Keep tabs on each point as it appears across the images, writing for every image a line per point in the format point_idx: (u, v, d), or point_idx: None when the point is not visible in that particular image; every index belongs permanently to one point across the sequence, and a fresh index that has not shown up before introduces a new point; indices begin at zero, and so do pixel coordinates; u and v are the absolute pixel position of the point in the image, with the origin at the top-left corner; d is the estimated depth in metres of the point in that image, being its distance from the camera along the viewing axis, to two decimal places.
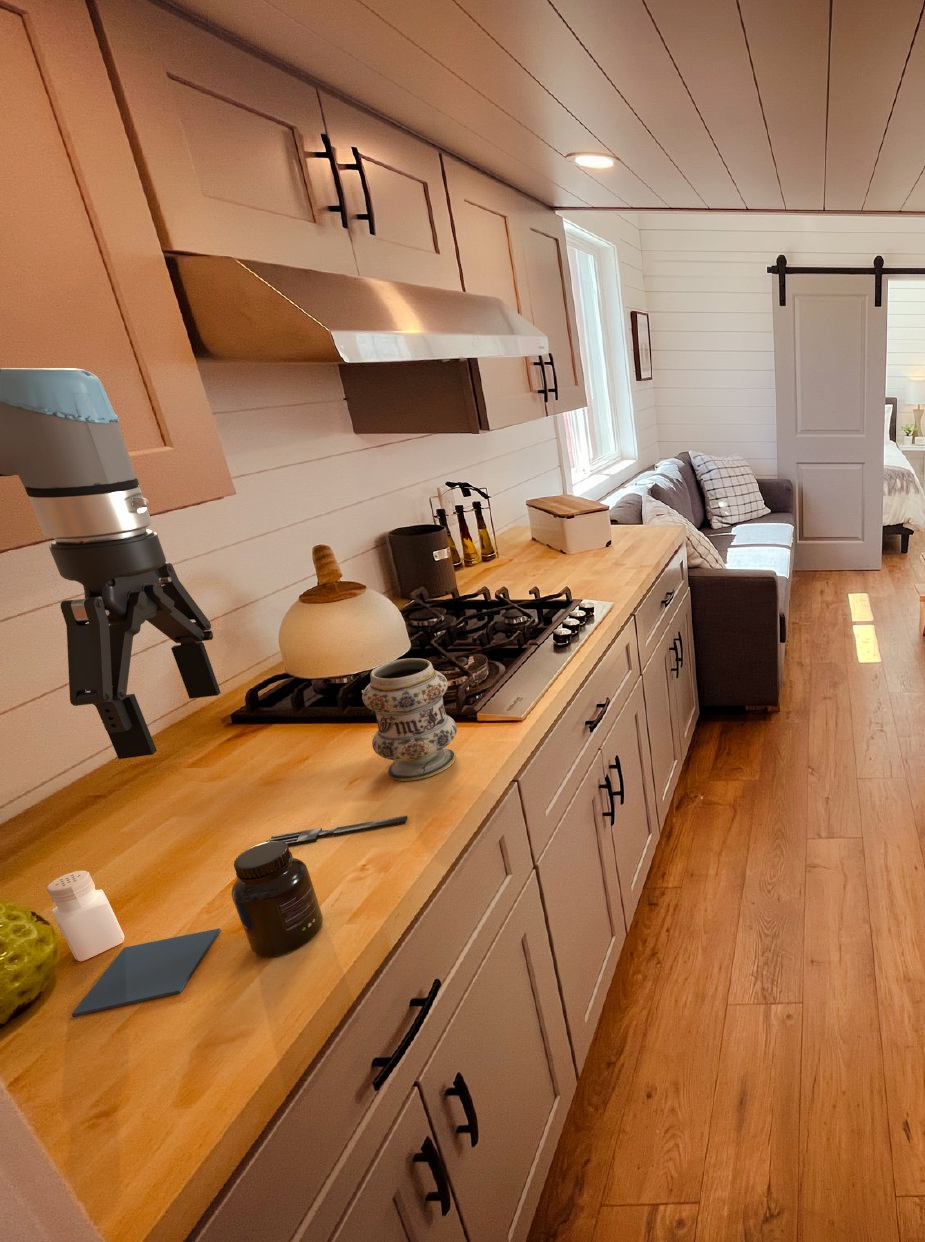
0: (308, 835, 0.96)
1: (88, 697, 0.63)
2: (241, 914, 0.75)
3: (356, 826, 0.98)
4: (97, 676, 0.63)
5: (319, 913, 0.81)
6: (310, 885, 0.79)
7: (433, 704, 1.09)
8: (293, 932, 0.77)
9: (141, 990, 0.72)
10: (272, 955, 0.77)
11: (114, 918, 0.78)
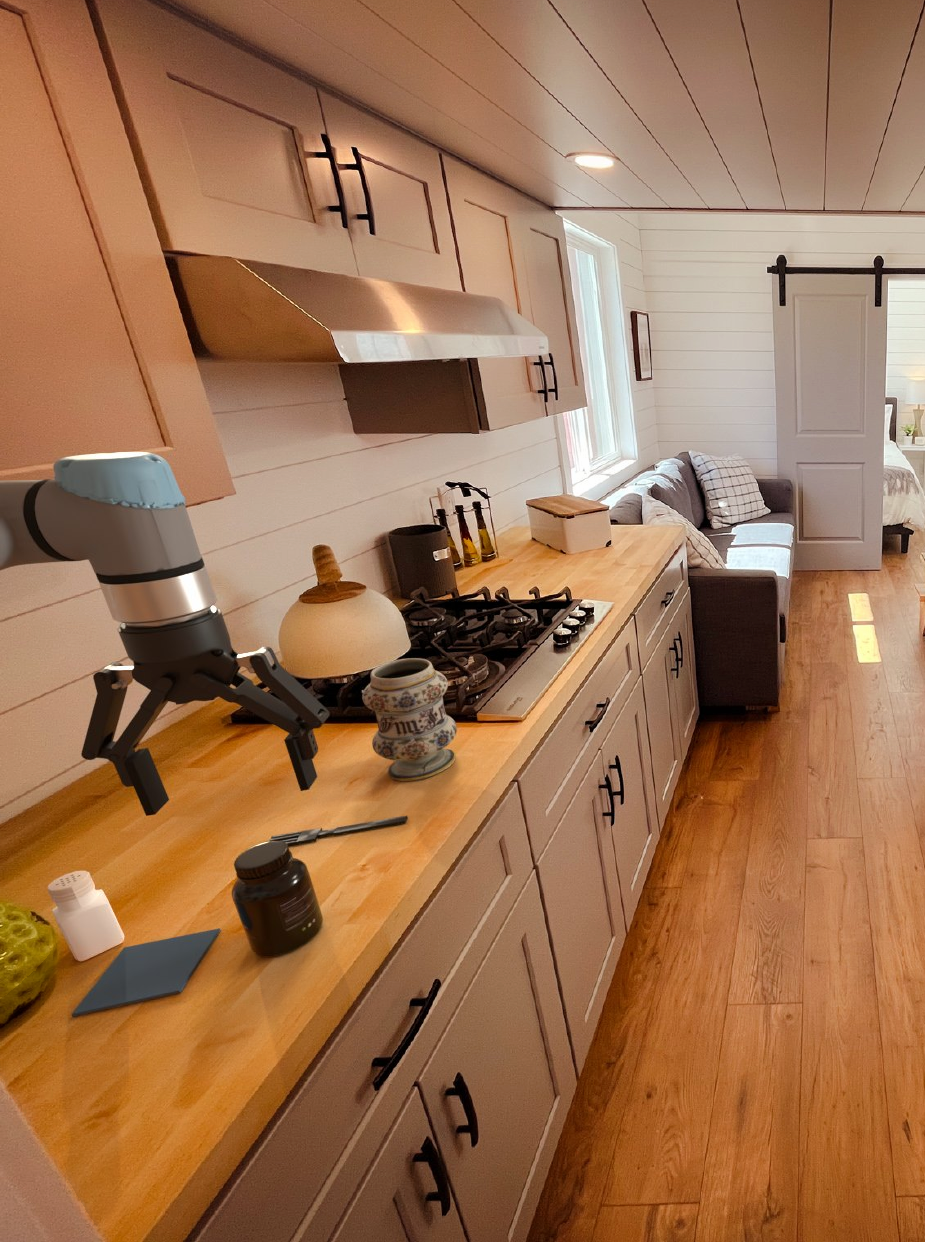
0: (308, 835, 0.96)
1: (322, 716, 0.74)
2: (241, 914, 0.75)
3: (356, 826, 0.98)
4: (314, 699, 0.74)
5: (319, 913, 0.81)
6: (310, 885, 0.79)
7: (433, 704, 1.09)
8: (293, 932, 0.77)
9: (141, 990, 0.72)
10: (272, 955, 0.77)
11: (114, 918, 0.78)
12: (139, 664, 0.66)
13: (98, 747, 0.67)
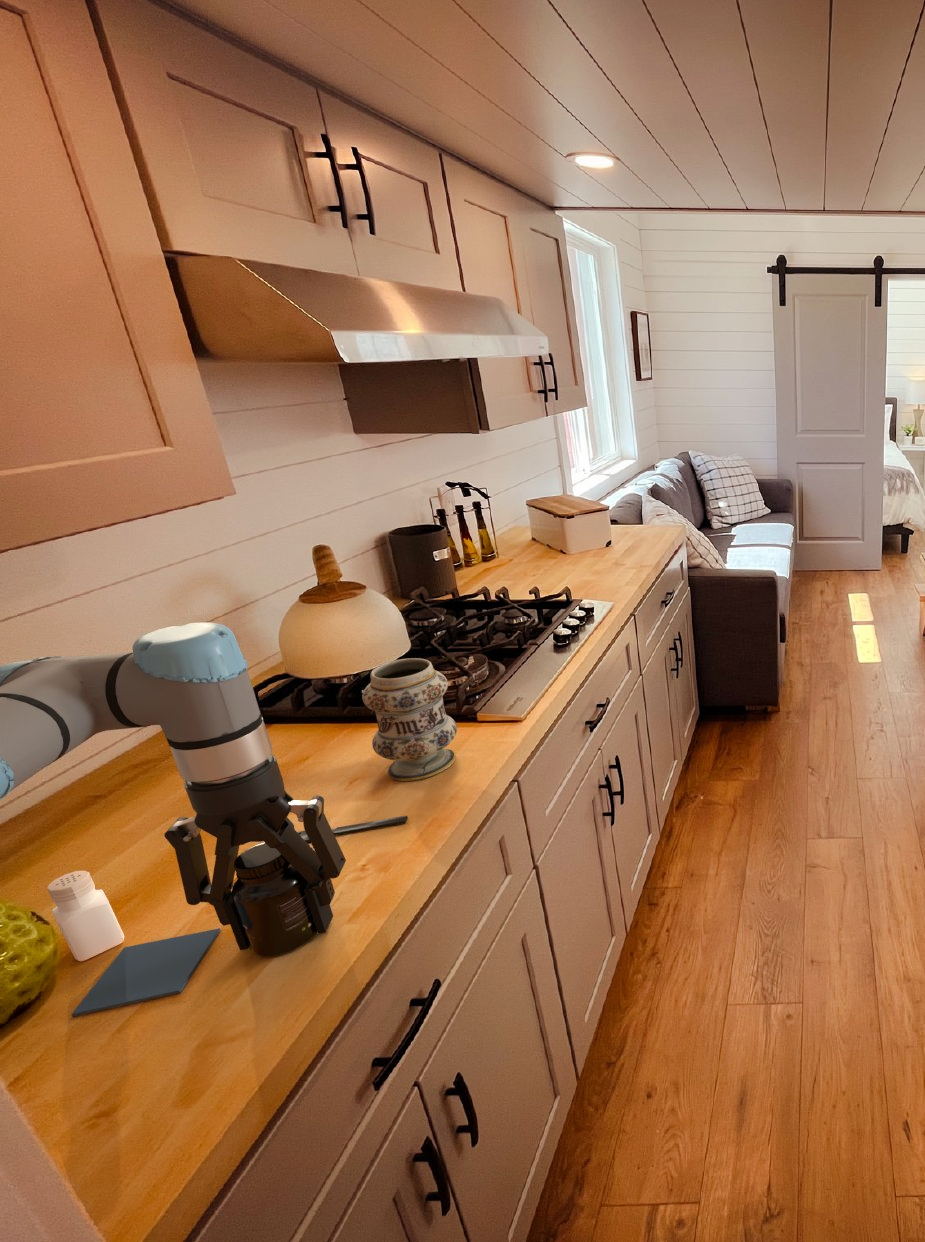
0: None
1: (340, 866, 0.79)
2: (241, 914, 0.75)
3: (356, 826, 0.98)
4: (338, 848, 0.79)
5: None
6: None
7: (433, 704, 1.09)
8: (293, 932, 0.77)
9: (141, 990, 0.72)
10: (272, 955, 0.77)
11: (114, 918, 0.78)
12: None
13: (198, 892, 0.74)
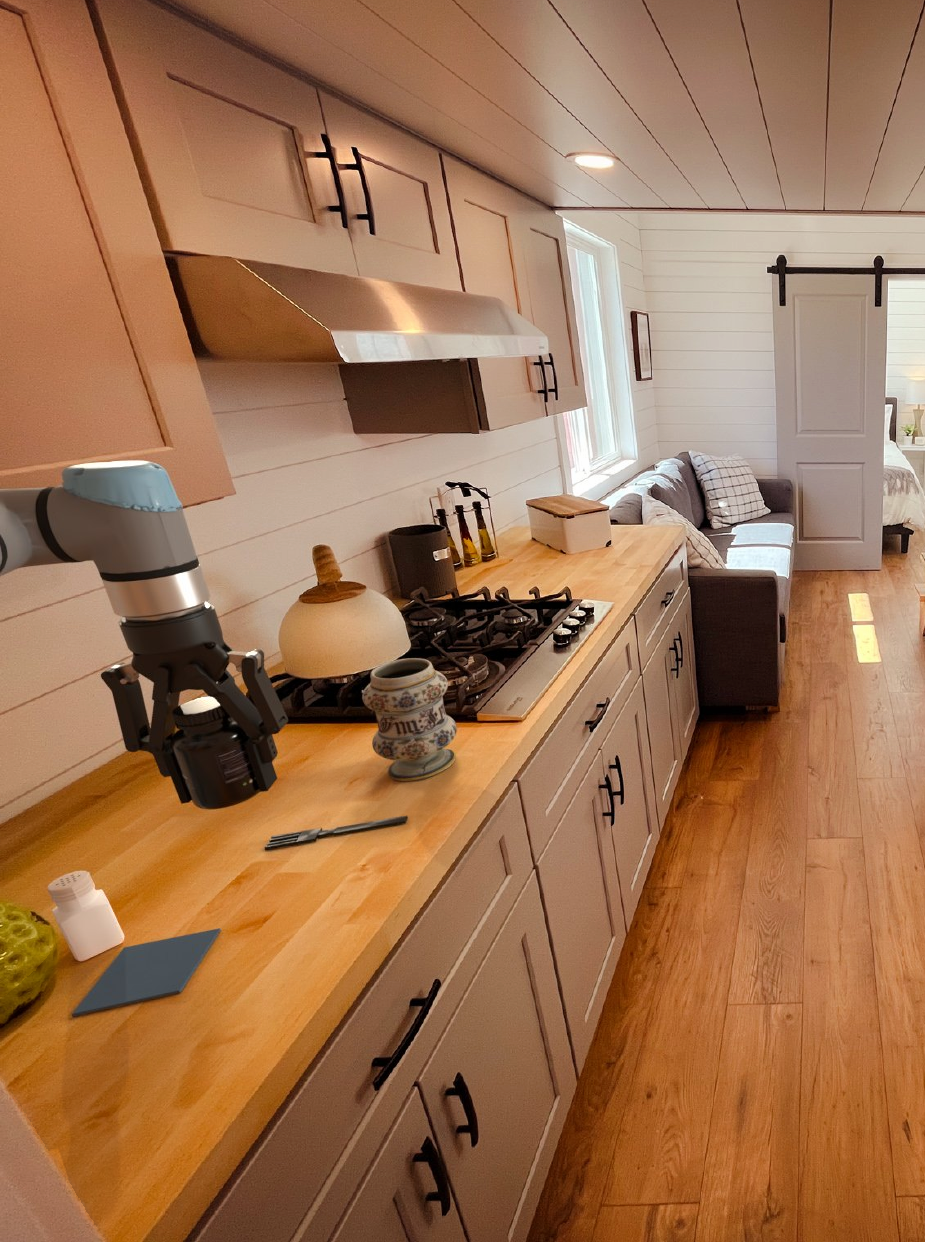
0: (308, 835, 0.96)
1: (281, 724, 0.80)
2: (180, 762, 0.75)
3: (356, 826, 0.98)
4: (280, 706, 0.80)
5: None
6: None
7: (433, 704, 1.09)
8: (233, 785, 0.78)
9: (141, 990, 0.72)
10: (212, 807, 0.77)
11: (114, 918, 0.78)
12: (138, 655, 0.72)
13: (136, 739, 0.74)
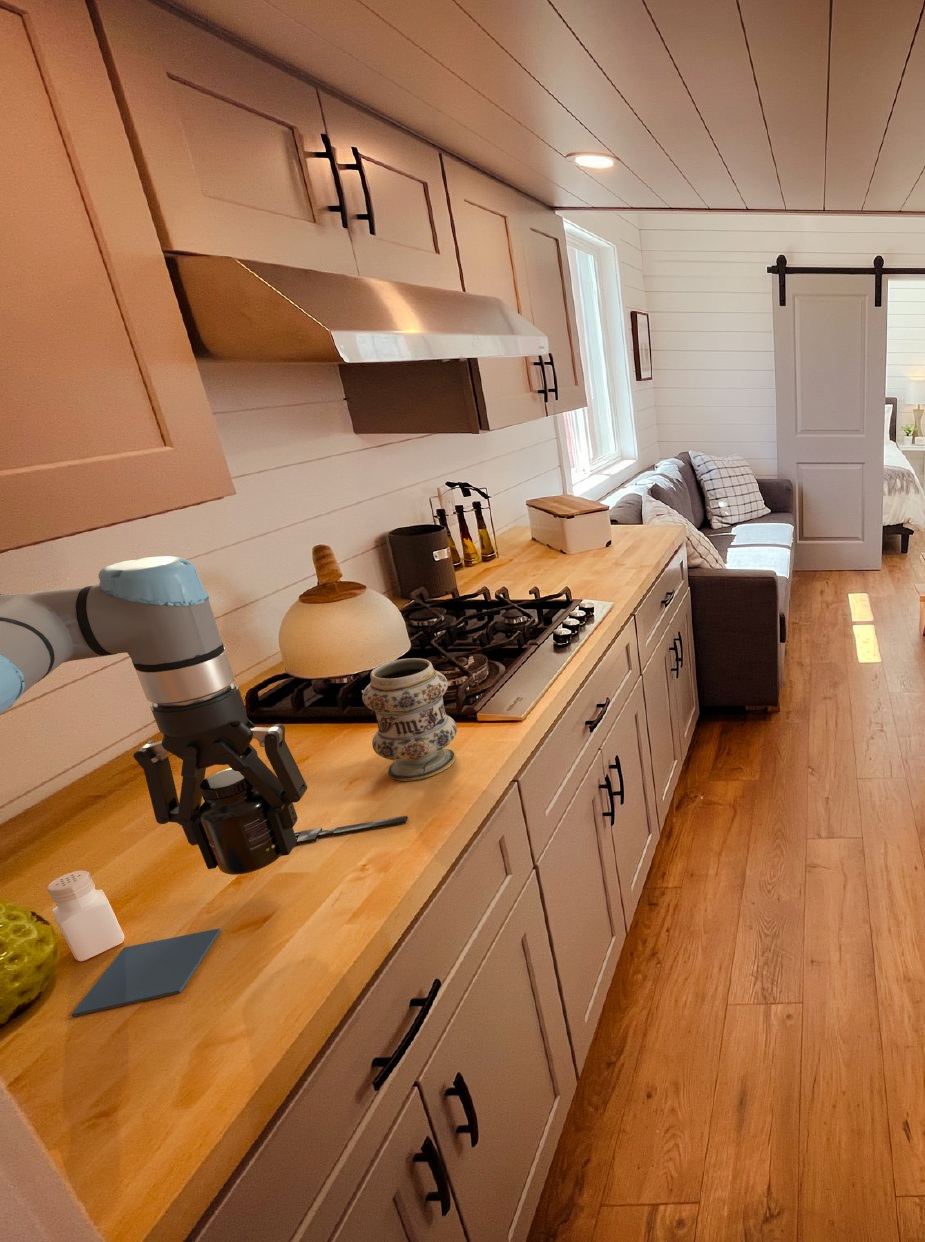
0: (308, 835, 0.96)
1: (301, 792, 0.84)
2: (207, 833, 0.80)
3: (356, 826, 0.98)
4: (300, 775, 0.85)
5: None
6: None
7: (433, 704, 1.09)
8: (257, 852, 0.83)
9: (141, 990, 0.72)
10: (237, 873, 0.82)
11: (114, 918, 0.78)
12: (168, 735, 0.77)
13: (166, 812, 0.79)
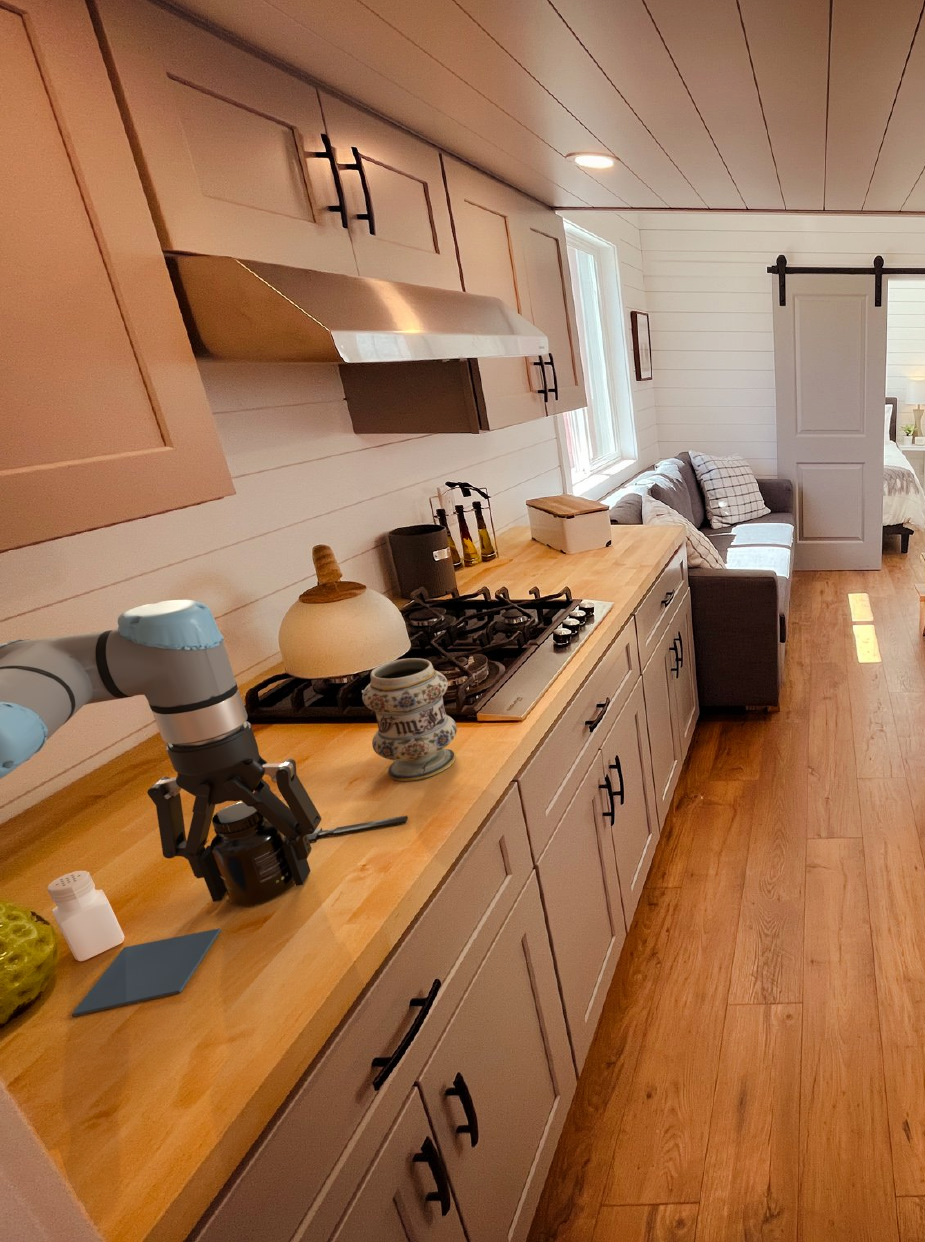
0: (308, 835, 0.96)
1: (315, 823, 0.86)
2: (219, 866, 0.82)
3: (356, 826, 0.98)
4: (313, 807, 0.86)
5: None
6: (283, 842, 0.86)
7: (433, 704, 1.09)
8: (267, 884, 0.84)
9: (141, 990, 0.72)
10: (248, 904, 0.84)
11: (114, 918, 0.78)
12: None
13: (174, 847, 0.81)
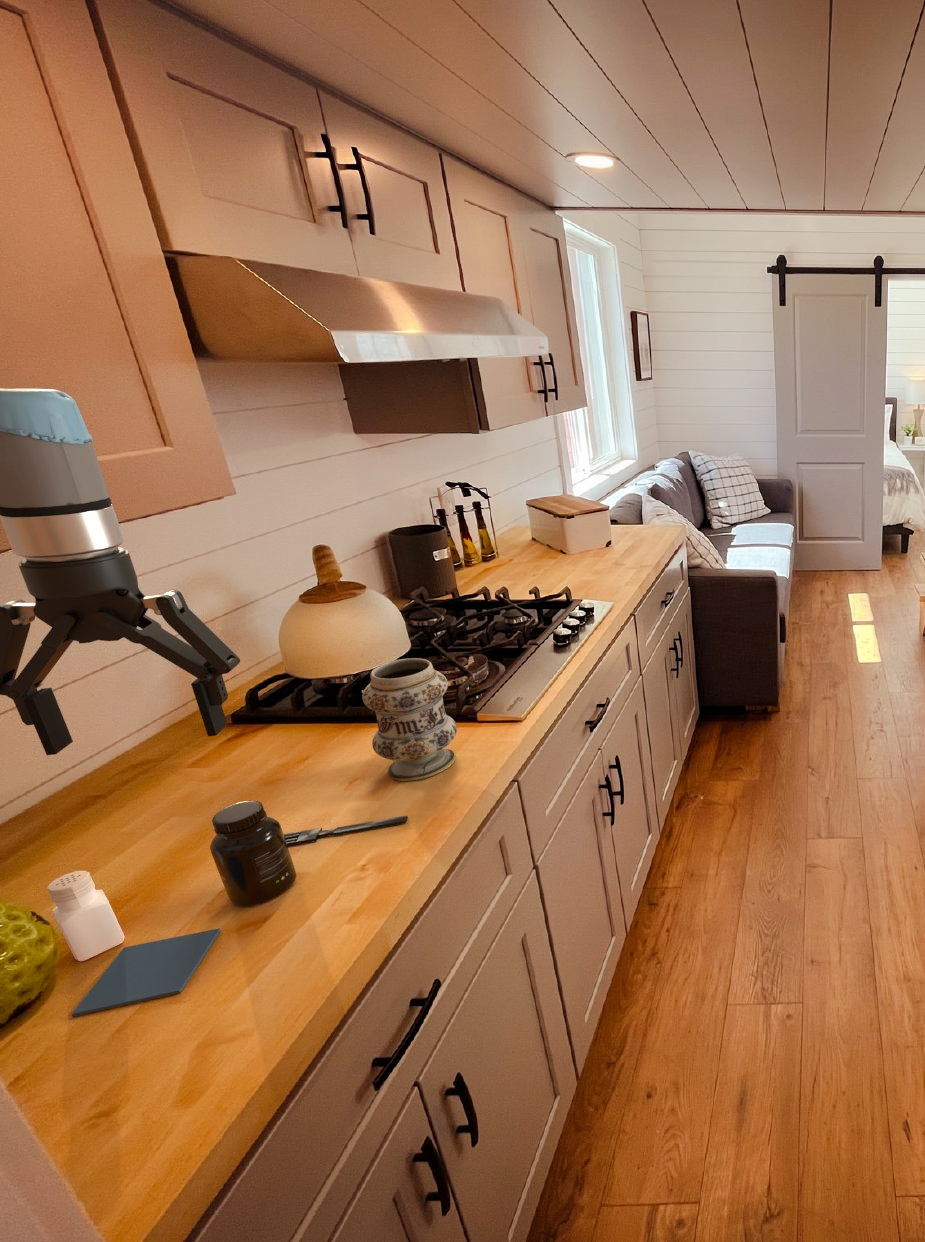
0: (308, 835, 0.96)
1: (231, 662, 0.75)
2: (219, 866, 0.82)
3: (356, 826, 0.98)
4: (224, 645, 0.75)
5: (292, 868, 0.88)
6: (283, 842, 0.86)
7: (433, 704, 1.09)
8: (267, 884, 0.84)
9: (141, 990, 0.72)
10: (248, 905, 0.84)
11: (114, 918, 0.78)
12: (41, 601, 0.67)
13: None
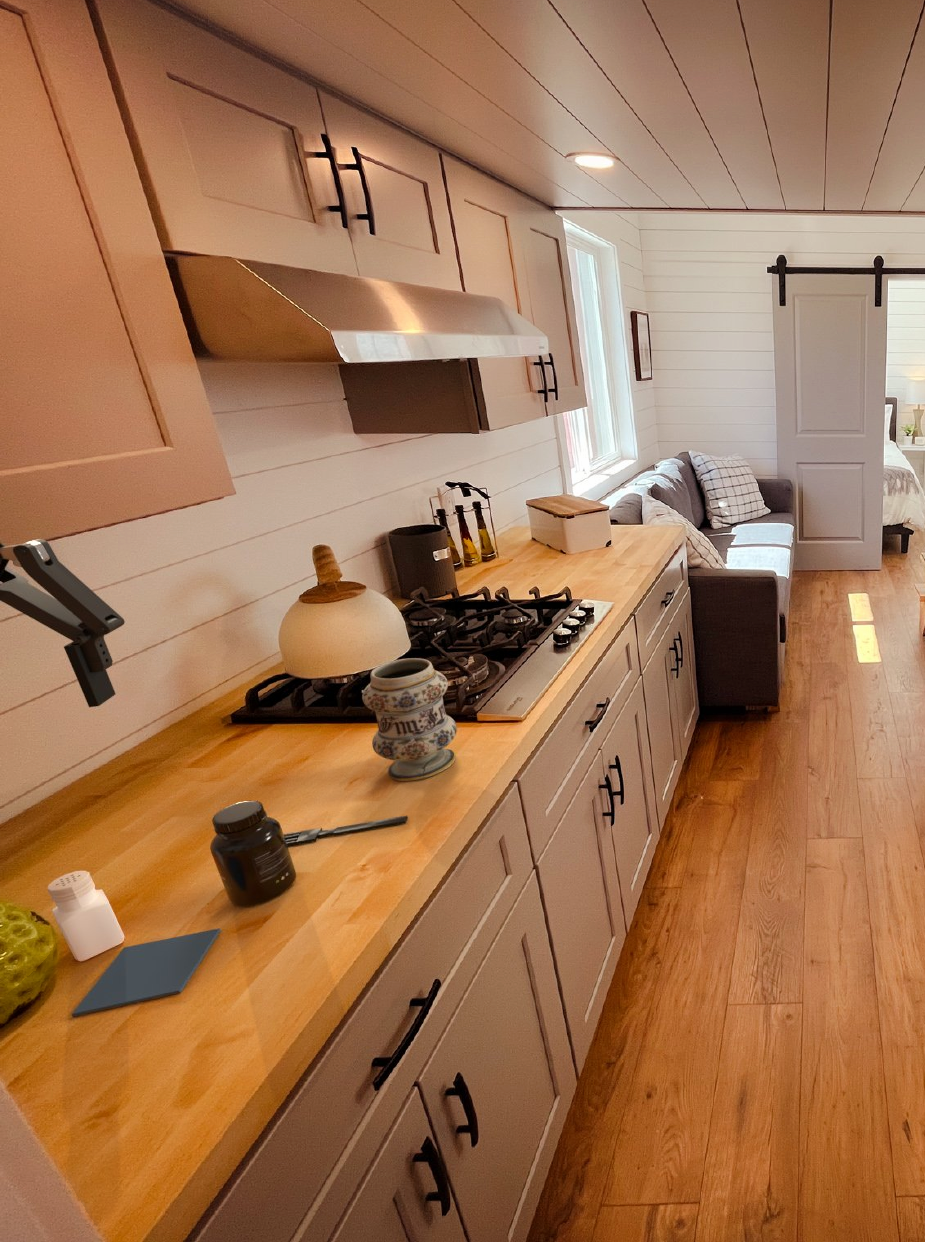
0: (308, 835, 0.96)
1: (112, 623, 0.66)
2: (219, 866, 0.82)
3: (356, 826, 0.98)
4: (103, 604, 0.66)
5: (292, 868, 0.88)
6: (283, 842, 0.86)
7: (433, 704, 1.09)
8: (267, 884, 0.84)
9: (141, 990, 0.72)
10: (248, 905, 0.84)
11: (114, 918, 0.78)
12: None
13: None
